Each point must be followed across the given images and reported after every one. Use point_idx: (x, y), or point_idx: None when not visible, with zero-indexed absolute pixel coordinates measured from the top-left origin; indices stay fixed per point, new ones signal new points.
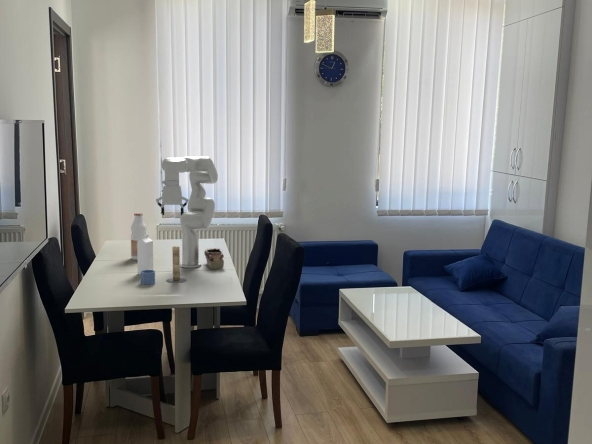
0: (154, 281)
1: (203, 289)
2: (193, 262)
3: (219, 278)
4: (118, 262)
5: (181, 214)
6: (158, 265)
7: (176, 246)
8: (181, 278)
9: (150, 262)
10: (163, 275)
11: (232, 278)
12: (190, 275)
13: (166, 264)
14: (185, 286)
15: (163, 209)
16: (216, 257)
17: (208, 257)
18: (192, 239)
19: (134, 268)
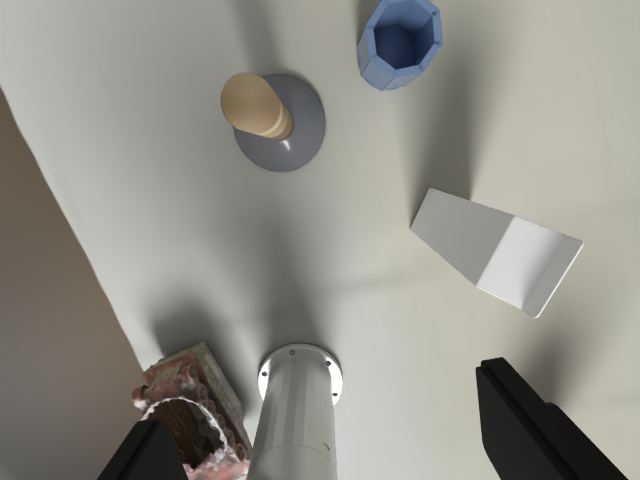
0: (359, 42)
1: (123, 18)
2: (279, 369)
3: (124, 215)
4: (586, 376)
5: (141, 427)
6: (422, 361)
7: (251, 127)
8: (268, 162)
9: (435, 225)
10: (363, 220)
11: (73, 224)
12: (255, 239)
13: (395, 379)
14: (218, 56)
15: (561, 466)
16: (164, 377)
17: (217, 402)
18: (267, 456)
19: (506, 303)
